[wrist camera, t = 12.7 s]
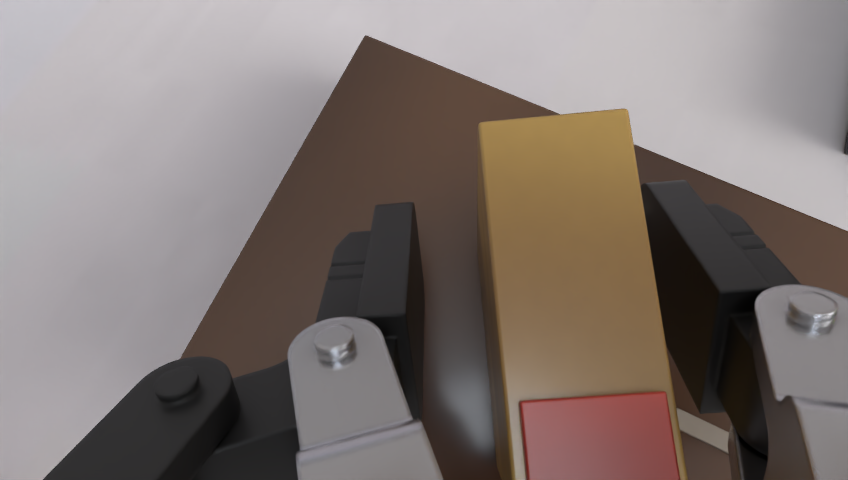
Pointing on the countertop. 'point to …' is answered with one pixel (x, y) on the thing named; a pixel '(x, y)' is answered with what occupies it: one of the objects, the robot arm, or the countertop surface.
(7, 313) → the countertop surface
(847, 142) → the box
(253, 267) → the panel
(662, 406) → the lock knob
